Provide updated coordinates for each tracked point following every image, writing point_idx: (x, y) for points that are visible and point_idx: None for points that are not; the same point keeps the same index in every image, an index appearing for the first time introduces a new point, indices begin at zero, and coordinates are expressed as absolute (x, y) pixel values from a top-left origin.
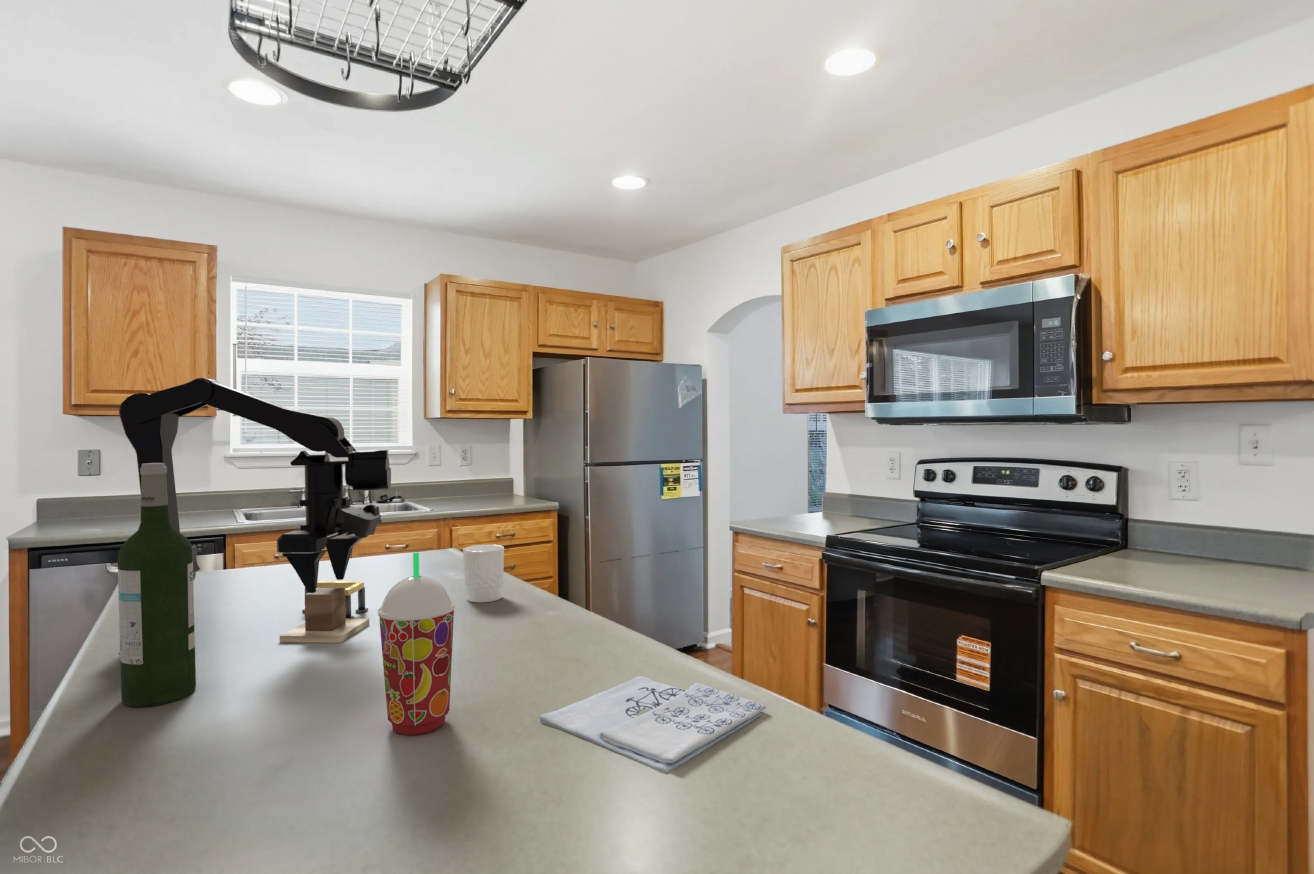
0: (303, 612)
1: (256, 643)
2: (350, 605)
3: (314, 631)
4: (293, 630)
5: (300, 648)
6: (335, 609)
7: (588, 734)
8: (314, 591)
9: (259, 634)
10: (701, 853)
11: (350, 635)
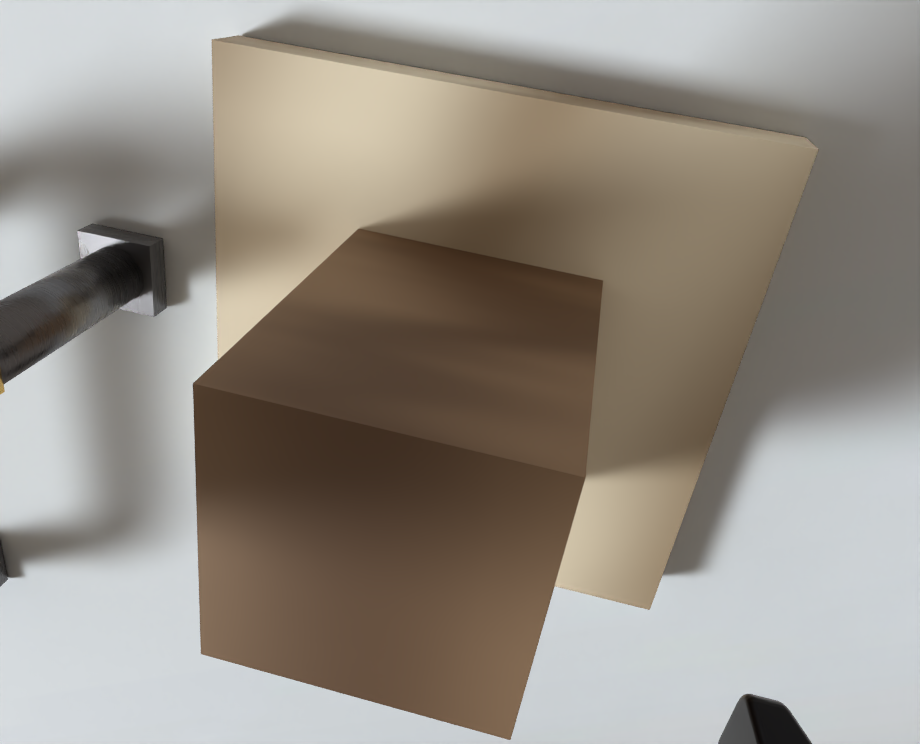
0: (4, 574)
1: (635, 682)
2: (46, 285)
3: None
4: None
5: (864, 425)
6: (512, 343)
7: None
8: (791, 714)
9: None
10: None
11: (613, 105)
